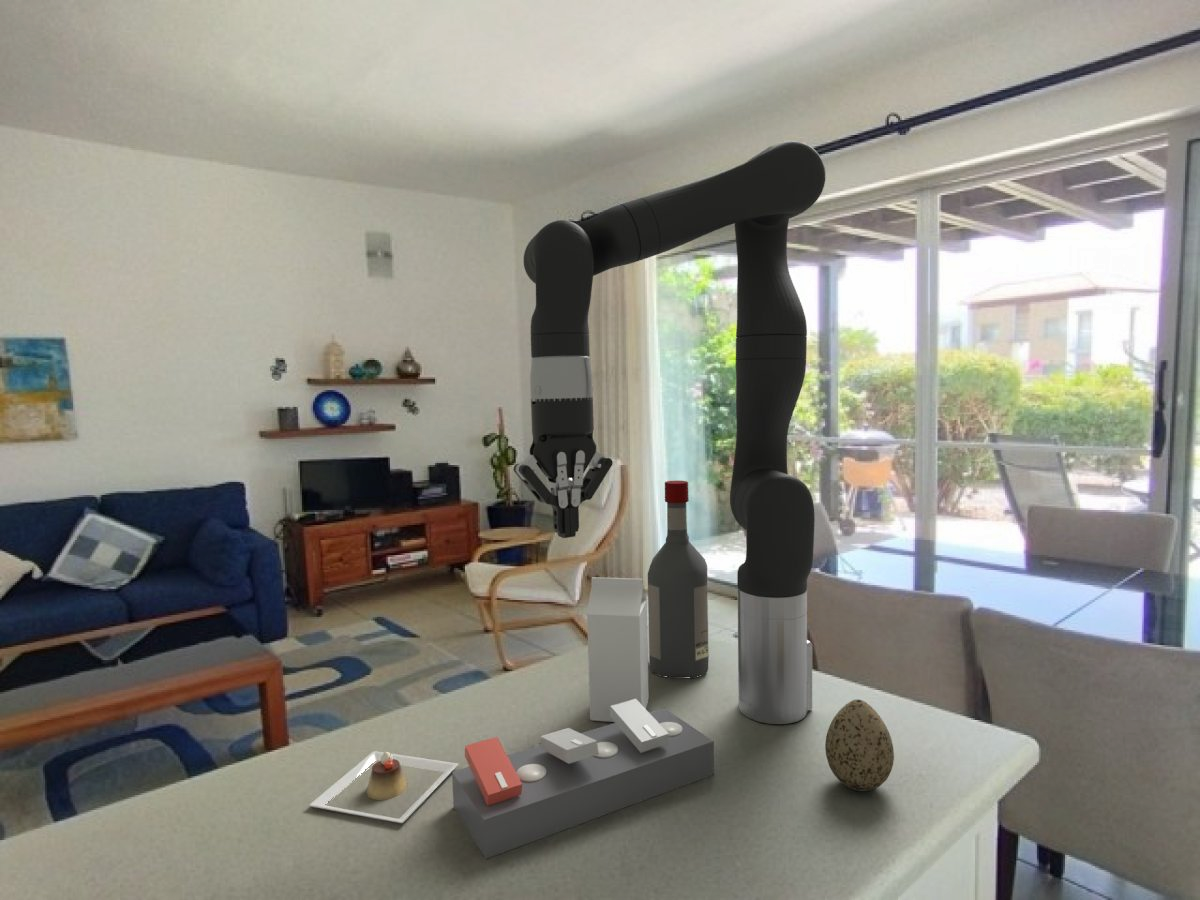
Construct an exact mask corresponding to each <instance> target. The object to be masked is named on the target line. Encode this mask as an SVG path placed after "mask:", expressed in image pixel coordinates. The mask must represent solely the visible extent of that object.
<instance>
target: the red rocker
mask: <svg viewBox="0 0 1200 900" xmlns="http://www.w3.org/2000/svg"><path fill="white" fill-rule="evenodd" d="M464 746H465V749H464V758H465V760H466V762H467V764H468V767H470V769H471V771H472V773H473V775H474V777H475V780H476V782H477V784H478V786H479V788H480V790H481V793H482V795H483V797H484V799H485V801H486V804H487V806H489V805H492V804H495V803H498V802H501V801H504V800H507V799H510V798H513V797H516V796H519V795H521V791H522V783H521V781H520V779H519V777H518V775H517V773H516V771H515V769H514V768H513V766H512V764H511V762H510V760H509V758H508V756H507V755H508V754H507V753H506V751H505V748H504V747H503V745H502V743H501V741H500V739H499V737H498V736H495V737H490V738H488V739H483V740H481V741H477V742H474V743H470V744H467V745H464Z"/></svg>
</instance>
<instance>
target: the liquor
mask: <svg viewBox="0 0 1200 900" xmlns="http://www.w3.org/2000/svg"><path fill="white" fill-rule="evenodd" d="M689 499H690V498H689V482H688V481H687V480H667V481H664V502H665V503H666V512H667V513H666V516H667V517H666V518H667V519H666V520H667V522H666V523H667V525H666V528H667V529H666V531H667V532H666V538H665V542H664V544H663V545H662V546H661V548H660V549H659V550H658V551H657V552H656V553H655V555H654V556H653V557H652V559H651V563H650V565H649V568H648V571H647V604H648V606H647V607H648V608H647V615H648V649H649V650H648V656H649V657H648V661H649V669H650V670H651V672H652V673H653V672H654V673H653V674H655V673H656V674H655V675H657V674H658V676H659V675H661V676H667V677H666V678H670V677H690V678H689V679H696V678H695V677H697V676H699V677H701V676H700V675H702V676H704V675H703V674H705V675H706V674H707V673H708V670H709V656H710V655H709V653H710V652H709V601H708V600H709V599H708V598H709V595H708V592H709V591H708V590H709V589H708V584H709V583H708V564H707V561H706V558H704V557H703V555H702V554H701V553H700V552H699V551H698V549H696V547H695V546H694V545H693V544H692V543H691V542H690V541H689V540H690V536H689V533H688V514H687V513H688V512H687V503H688V502H689ZM661 676H660V677H661ZM697 678H698V677H697Z"/></svg>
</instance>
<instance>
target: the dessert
mask: <svg viewBox="0 0 1200 900" xmlns="http://www.w3.org/2000/svg"><path fill="white" fill-rule="evenodd" d="M377 760H379V761H378V762H375V761H377ZM374 762H375V763H374ZM372 763H374V764H373V765H372V766H371V770H370V774H369V780H368V783H367V788H366V796H367V797H369V799H370V798H371V799H372V800H377V799H378V800H380V801H381V800H389V799H392V798H395V797H398V796H399V795H401V794H403V793H404V792H405V791H406V789H407V788H408V782H407V779H406V777H405V774H404V772H403V768H402V765H403V767H408V766H409V768H416V769H421V770H422V769H423V770H429V771H435V772H440V773H442V774H441V775H440V776H439V777H438V778H437V779H436V780H435V782H433V783H432V784H431V786H429V787H428V788H427V789H426V791H424V792H423V794H422V795H421V796H419V798H418V799H417V800H415V802H414V803H413V804H412V805H411V806H410V807H409V808H408V809H407V810H406V811H405V812H404V813H403V814H402V816H401V817H399V818H396V817H391V816H385V815H380V814H374V813H370V812H369V813H367V812H363V811H357V810H353V809H346V808H341V807H336V806H331V805H327V804H329V803H328V801H330V800H331V799H332V798H333V797H334V798H336V797H337V796H338V795H339V794H340V793H342V792H343V791H344V790H345V789H346V788H347V787H349V786H350V785H351V784H352V783H353V782H354V781H355V778H357V777H358V776H359V775H360V776H361V775H362V774H361V773H363V772H364V771H365V769H367V768H368V767H369V766H370V765H371V764H372ZM458 766H459V763H456V762H449V761H444V760H437V759H430V758H423V757H418V756H411V755H404V754H397V753H391V752H389V751H384V752H383V751H379V750H378V751H377V750H373V751H372V752H370V753H369V754H368V755H367V756H366V757H365V758H363V759H362V760H360V762H358V763H357V764H356V765H355V766H353V767H352V768H351V769H350V770H349V771H347V772H346V773H345V774H344V775H343V776H341V777H340V778H339V779H338V780H337V781H335V782H334V783H333V784H332V785H331V786H329V787H328V788H327V789H326V790H325V791H323V792H322V793H320V795H318V796H317V797H316V798H315V799H314V800H312V801H311V802H310V803H308V805H307V806H308V807H310V808H311V807H312V808H317V809H320V810H321V809H322V810H328V811H332V812H338V813H344V814H347V815H348V814H349V815H354V816H360V817H366V818H370V819H376V820H381V821H385V822H387V821H388V822H392V823H398V824H403V823H405V822H406V820H407V819H408V818H410V817H411V815H412V814H413V813H414V812H415V811H416V810H417V809H418V808H419V807H420V806H421V805H422V804H423V803H424V802H425V801H426V800H427V798H429V796H430V795H432V793H433V792H434V791H435V790H436V789H437V788H438V787H439V785H441V784H442V783H443V782H444V780H445V779H446V778H448V776H450V774H452V772H453V771H455V769H456V768H457V767H458ZM368 769H369V768H368ZM368 769H367V770H368ZM365 772H366V771H365ZM365 772H364V773H365ZM364 773H363V774H364ZM360 776H359V777H360ZM359 777H358V778H359ZM358 778H357V779H358ZM353 780H354V781H353ZM352 781H353V782H352ZM350 783H351V784H350ZM344 788H345V789H344ZM342 790H343V791H342ZM336 795H337V796H336ZM335 796H336V797H335ZM334 798H333V799H334ZM333 799H332V800H333ZM332 800H331V801H332ZM331 801H330V802H331ZM325 804H326V805H325Z"/></svg>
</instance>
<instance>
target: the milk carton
mask: <svg viewBox="0 0 1200 900" xmlns="http://www.w3.org/2000/svg"><path fill="white" fill-rule="evenodd" d="M643 580H644V578H631V577H630V578H629V577H627V578H625V577H622V578H621V577H595V576H594V577H593V576H592V577H591V587H590V593H589V599H588V605H587V610H586V619H587V620H586V621H587V622H586V623H587V624H586V625H587V627H586V628H587V656H588V658H587V659H588V686H589V687H588V688H589V689H588V690H589V691H588V692H589V693H588V694H589V720H590V721H596V722H607V723H609V722H610V723H615V722H614V721H613V720H612V718H611V717H610V706H612V705H616V704H619V703H623V702H626V701H630V700H633V699H637V700H638V701H639V702H640V704H641V705H642V706H643V707H644V708H645V709H646V710H647V707H648V704H649V699H650V698H649V694H650V693H649V657H648V656H649V650H648V649H649V643H648V608H647V607H648V606H647V604H648V598H647V596H646V593H645V590H644V585H643V584H644V581H643Z"/></svg>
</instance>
